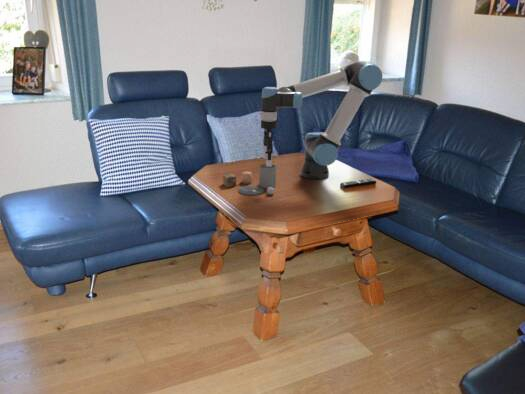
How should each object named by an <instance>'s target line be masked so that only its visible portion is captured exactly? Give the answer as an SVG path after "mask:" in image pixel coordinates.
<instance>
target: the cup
mask: <svg viewBox="0 0 525 394" xmlns="http://www.w3.org/2000/svg"><path fill="white" fill-rule="evenodd" d="M258 167H259V168H258V169H259V171H258V172H259V174H258V175H259V179H258V183H259V184H258V185H259V187H261V188H266V189H268V188H269V187H272V188H274V187H276V185H277V165H276V164H275V163H274V164H273V163H272V166H266V163H261V164H260V165H259V166H258Z"/></svg>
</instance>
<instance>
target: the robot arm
mask: <svg viewBox="0 0 525 394" xmlns="http://www.w3.org/2000/svg"><path fill="white" fill-rule="evenodd" d="M382 82H383V71H382V70H381V68H380V67H379V66H378V65H376V64H374V63H371V62H367V61H361V60H360V61H355V62H353V63H350V64H348V65H345V66H342V67H340V68H339V69H338V70H336V71H333V72H330V73H327V74H323V75H319V76H317V77H314V78H311V79H310V78H309V79H308V80H304V81H301V82H298V83H296V84H292V85H288V86H281V87H279V88H278V87H275V86H265V87H263V88H262V90H261V108H260V109H261V112H260V113H259V115H260V118H261V120H260V128H261V129H263V130H264V131H263V141H262V145H263V151H262V153H263V154H262V155H263V156H262V159H265V164H266V166H272V164H273V153H274V150H273V148H274V147H273V144H274V142H273V135H274V133H273V132H274V131H272V130H275V129H277V119H278V118H277V117H278V109H279V108H280V109H281V108H283V109H286V108H287V109H291V108H292V109H298V108H302V106H303V98H306V97H309V96H312V95H315V94H320V93H323V92H326V91H328V90H331V89H335V88H338V87H340V86H341V87H342V86H343V87H344V86H345V87H349V89H348V91H347V92H346V93H345V96H344V97H343V100H342V101H341V103H340V104H339V107H338V108H337V110H336V111H335V114H334V115H333V116H332V119H331V120H330V122H329V125H328V126H327V128H326V129H325V131H324V132H323V131H322V132H307V133H306V134H305V136H304V137H305V138H304V160H303V163H302V166H301V168H300V176H301V177H303V178H305V179H311V180H323V179H327V178H329V176H330V171H329V167H328V166H330V165H332V164H334V163H335V162H336V161H337V159H338V157H339V156H338V155H339V152H338V151H339V149H340V147H341V145H342V144H341V140H342V138H343V136H344V134H345V132H346V131H347V129H348V127H349V125H350V124H351V122H352V120H353V118H354V117H355V116H356V113H357V112H358V110H359V109H360V106H361V105H362V103H363V102H364V100H365V98H368V97H369V96H370V95H371V94H372V92H373V90H376V89H377V88H378V87H379V86H380V85H381V83H382Z"/></svg>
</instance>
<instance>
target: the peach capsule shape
mask: <svg viewBox="0 0 525 394" xmlns="http://www.w3.org/2000/svg"><path fill="white" fill-rule="evenodd" d="M241 183H242V184H245V185H246V184H247V185H249V184H252V183H253V172H252V171H243V172H242V173H241Z"/></svg>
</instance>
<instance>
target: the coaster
mask: <svg viewBox="0 0 525 394" xmlns="http://www.w3.org/2000/svg"><path fill="white" fill-rule="evenodd" d="M238 193H240V194H241V195H244V196H258V195H262V194H263V193H264V187H261V186H257V185H243V186H241V187H239V188H238Z"/></svg>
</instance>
